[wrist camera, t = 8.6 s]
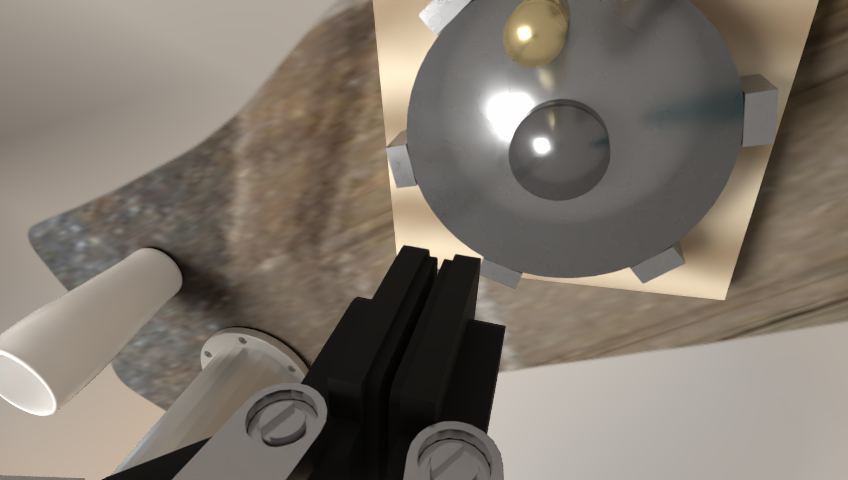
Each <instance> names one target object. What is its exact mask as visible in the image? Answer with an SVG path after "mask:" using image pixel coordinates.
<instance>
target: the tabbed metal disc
mask: <svg viewBox="0 0 848 480" xmlns="http://www.w3.org/2000/svg"><path fill="white" fill-rule="evenodd" d="M419 17H420V18H421V19H422V20H423V21H424V23H425V24H426V25H427V26H428V27H429V29H430V30H431V31H432V32H433V33H434V35H435V36H436V35H438V34H439V33H440V34H439V36H438V37H437V39H436V40H435V42H434V43H433V45H432V46H431V48H430V49H429V51H428V52H427V54H426V56H425V58H424V60H423V62H422V64H421V66H420V68H419V70H418V73H417V76H416V79H415V82H414V85H413V88H412V91H411V96H410V101H409V106H408V113H407V129H406V131H401V132H400V133H399V134H398V135H397V136H396V137H395V138H394V139H393V140H392V141H391V143H390V144H389V145H388V146H387V147H386V148H385V149H386V152H387V156H388V159H389V163H390V166H391V170H392V173H393V177H394V180H395V184H396V187H397V188H403V187H411V186H417V185H418V186H419V188H420V190H421V192H422V194H423V196H424V199H425V200H426V202H427V203H428V205H429V206H430V208H431V210H432V211H433V213H434V214H435V215H436V217H437V218H438V219H439V220H440V221H441V223H442V224H443V225H444V226H445V227H446V228H447V229H448V230H449V231H450V232H451V233H452V234H453V235H454V236H455V237H456V238H457V239H458V240H460V241H461V242H462V243H463V244H465V245H466V246H467V247H469V248H470V249H471V250H473V251H475V252H476V253H478V254H480V255H481V256H482V260H481V267H480V275H481V276H483V277H486V278H488V279H491V280H493V281H496V282H499V283H501V284H504V285H506V286H509V287H511V288H514V289H515V288H516V286H517V284H518V282H519V280H520V278H521V276H522V274H523V273H527V274H532V275H536V276H543V277H552V278H581V277H591V276H598V275H603V274H608V273H612V272H616V271H619V270H622V269H625V268H628V267H630V269H631V270H632V271H633V273H634V274H635V275H636V276H637V277H638V279H639V280H640V281H641V282H642V283H643V284H644V283H646V282H648V281H650V280H652V279H654V278H656V277H658V276H661V275H663V274H665V273H667V272H669V271H671V270H673V269H675V268H677V267H679V266H681V265H683V264H685V263H686V262H685V259H684V256H683V252H682V249H681V245H680V242H679V240H680V239H681V238H682V237H684V236H685V235H686V234H687V233H688V232H689V231H690V230H691V229H692V228H693V227H694V226H696V225H697V224H698V223H699V222H700V221H701V220H702V218H703V217H704V216H705V215H706V213H707V212H708V211H709V210H710V209H711V207H712V206H713V205H714V204H715V202H716V200H717V199H718V197H719V196H720V194H721V192H722V191H723V189H724V188H725V186H726V184H727V182H728V179H729V177H730V175H731V173H732V171H733V168H734V166H735V163H736V160H737V156H738V153H739V149H740V146H742V147H749V146H757V145H766V144H774V138H775V126H776V114H777V102H778V90H779V89H778V88H777V87H775V86H774V85H773V84H772V83H771V82H769V81H768V80H767V79H766V78H765V77H763V76H762V75H761V74H755V75H748V76H742V77H739V74H738V71H737V68H736V66H735V63H734V60H733V57H732V55H731V53H730V51H729V49H728V47H727V45H726V44H725V42H724V40H723V38H722V37H721V35H720V33H719V32H718V30H717V29H716V28H715V27H714V26H713V24H712V23H711V22H710V21H709V19H708V18H707V17H706V16H705V14H704V13H703V12H702V11H700V10H699V9H698V8H697V7H696V6H695V5H694V4H692V3H691V2H690V1H689V0H433V1H432V2H431V3H430V4H429V5H428V6H427V7H426V8H425V9H424V10H423V11H422V12H421V13H420V14H419Z"/></svg>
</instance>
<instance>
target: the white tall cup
mask: <svg viewBox="0 0 848 480" xmlns="http://www.w3.org/2000/svg"><path fill="white" fill-rule="evenodd" d="M181 286H182V274H181V271H180V269H179V267H178V266H177V264H176V263H175V262H174V261H173V260H172V259H171V258H170V257H169V256H168V255H166V254H165V253H163V252H161V251H159V250H157V249H153V248H142V249H139V250H137V251H135V252H134V253H132V254H131V255H129V256H128V257H127V258H125V259H124V260H122V261H120V262H119V263H117V264H115V265H114V266H112V267H110V268H109V269H107V270H105V271H104V272H102V273H100V274H98V275H97V276H95V277H93V278H92V279H90V280H88V281H86V282H85V283H83V284H81V285H80V286H78V287H76V288H74V289H73V290H71V291H69V292H67V293H66V294H64V295H62V296H61V297H59V298H57V299H55V300H54V301H52V302H50V303H48V304H47V305H45V306H43V307H42V308H40V309H38V310H36V311H35V312H33V313H32V314H30V315H28V316H27V317H25V318H24V319H22V320H21V321H19V322H18V323H17V324H15V325H13V326H12V327H11V328H9V329H8V330H6V331H5V332H4V333H2V334H1V335H0V396H1V397H3V398H4V399H5V400H7V401H8V402H10V403H11V404H13V405H14V406H16V407H18V408H20V409H22V410H24V411H26V412H29V413H32V414H35V415H42V416H46V415H51V414H53V413H55V412H56V411H57V410H58V409H60V408H61V407H62V406H63V405H65V404H66V403H67V402H68V401H69V400H70V399H72V398H73V397H74V396H75V395H76V394H78V393H79V392H80V391H81V390H82V389H83V388H84V387H86V386H87V385H88V384H89V383H90V382H91V381H92V380H93V379H94V378H95V377H96V376H97V375H98V374H99V373H100V372H101V371H102V370H103V369H104V368H105V367H106V366H107V365H108V364H109V363H110V362H111V361H112V360H113V359H114V358H115V357H116V355H117V354H118V353H119V352H120V351H121V350H122V349H123V348H124V347H125V346H126V345H127V344H128V343H129V341H130V340H131V339H132V338H133V337H134V336H135V335H136V334H137V333H138V332H139V331H140V330H141V329H142V328H143V326H144V325H145V324H146V323H147V322H148V321H149V320H150V319H151V318H152V317H153V316H154V315H155V314H156V313H157V312H158V311H159V310H160V309H161V308H162V306H163V305H164V304H165V303H166V302H167V301H169V300H170V299H171V298H172V297H173V296H174V295H175V294H176V293H177V292H178V291H179V290H180V288H181Z"/></svg>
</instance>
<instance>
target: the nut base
mask: <svg viewBox="0 0 848 480" xmlns="http://www.w3.org/2000/svg"><path fill="white" fill-rule="evenodd" d="M432 1H433V0H373V7H374V17H375V28H376V39H377V49H378V60H379V70H380V81H381V92H382V102H383V113H384V123H385V134H386V145H387V146H388V145H389V144H390V143H391V141H392V140H393V139H394V138H395V137H396V136H397V135H398V134H399V133H400V132H401V131H406V129H407V113H408V106H409V101H410V96H411V91H412V88H413V85H414V82H415V79H416V76H417V73H418V70H419V68H420V66H421V64H422V62H423V60H424V58H425V56H426V54H427V52H428V51H429V49H430V48H431V46H432V45H433V43H434V42H435V40H436V39H437V37H438V36H439V34H440V33H439V34H438V35H436V36H435V35H434V33H433V32H432V31H431V30H430V29H429V27H428V26H427V25H426V24H425V23H424V21H423V20H422V19H421V18H420V17H419V14H420V13H421V12H422V11H423V10H424V9H425V8H426V7H427V6H428V5H429V4H430V3H431V2H432ZM689 1H690V2H691V3H692V4H694V5H695V6H696V7H697V8H698V9H699V10H700V11H702V12H703V13H704V14H705V16H706V17H707V18H708V19H709V21H710V22H711V23H712V24H713V26H714V27H715V28H716V29H717V30H718V32H719V33H720V35H721V37H722V38H723V40H724V42H725V44H726V45H727V47H728V49H729V51H730V53H731V55H732V57H733V60H734V63H735V66H736V68H737V71H738V74H739V77H742V76H748V75H755V74H761V75H762V76H763V77H765V78H766V79H767V80H768V81H769V82H771V83H772V84H773V85H774V86H775V87H777V88H778V89H779V90H778V102H777V114H776V126H775V138H776V135H777V132H778V128H779V125H780V122H781V119H782V116H783V112H784V109H785V106H786V103H787V100H788V97H789V93H790V90H791V87H792V84H793V81H794V78H795V74H796V71H797V68H798V65H799V62H800V59H801V55H802V52H803V49H804V46H805V43H806V40H807V36H808V33H809V30H810V27H811V24H812V20H813V17H814V14H815V11H816V8H817V5H818V1H819V0H689ZM775 138H774V141H775ZM772 147H773V144H766V145H757V146H749V147H742V146H740V149H739V153H738V156H737V160H736V163H735V166H734V168H733V171H732V173H731V175H730V177H729V179H728V182H727V184H726V186H725V188H724V189H723V191H722V192H721V194H720V196H719V197H718V199H717V200H716V202H715V204H714V205H713V206H712V207H711V209H710V210H709V211H708V212H707V213H706V215H705V216H704V217H703V218H702V220H701V221H700V222H699V223H698V224H697V225H696V226H694V227H693V228H692V229H691V230H690V231H689V232H688V233H687V234H686V235H685V236H684V237H682V238H681V239H680V240H679V242H680V245H681V249H682V252H683V256H684V259H685V262H686V263H685V264H683V265H681V266H679V267H677V268H675V269H673V270H671V271H669V272H667V273H665V274H663V275H661V276H658V277H656V278H654V279H652V280H650V281H648V282H646V283H644V284H643V283H642V282H641V281H640V280H639V279H638V277H637V276H636V275H635V274H634V273H633V271H632V270H631V269H630V267H628V268H625V269H622V270H619V271H616V272H612V273H608V274H603V275H598V276H591V277H581V278H552V277H543V276H536V275H532V274H527V273H523V274H522V276H521V278H528V279H537V280H546V281H555V282H564V283H573V284H582V285H591V286H600V287H609V288H618V289H627V290H636V291H645V292H654V293H664V294H673V295H682V296H691V297H700V298H709V299H718V300H725V296H726V293H727V290H728V287H729V284H730V281H731V277H732V274H733V271H734V268H735V265H736V262H737V258H738V255H739V252H740V249H741V246H742V243H743V239H744V236H745V233H746V230H747V227H748V224H749V220H750V217H751V214H752V211H753V208H754V204H755V201H756V198H757V195H758V192H759V189H760V185H761V182H762V179H763V176H764V173H765V170H766V166H767V163H768V160H769V157H770V154H771V151H772ZM388 166H389V176H390V187H391V198H392V208H393V219H394V230H395V240H396V251H397V255H398V253H399V251H400V250H401V248H402V247H403V245H407V246H413V247H419V248H425V249H429V251H430V256H432V257H437V258H438V268H437V269H440V268H441V265H442V263H443V261H444V259H449V260H453V258H454V256H455V254H459V255H465V256H471V257H477V258H481V260H482V256H481V255H480V254H478V253H476V252H475V251H473V250H471V249H470V248H469V247H467V246H466V245H465V244H463V243H462V242H461V241H460V240H458V239H457V238H456V237H455V236H454V235H453V234H452V233H451V232H450V231H449V230H448V229H447V228H446V227H445V226H444V225H443V224H442V223H441V221H440V220H439V219H438V218H437V217H436V215H435V214H434V213H433V211H432V210H431V208H430V206H429V205H428V203H427V202H426V200H425V199H424V196H423V194H422V192H421V190H420V188H419V186H418V185H417V186H411V187H403V188H397V187H396V184H395V180H394V177H393V173H392V170H391V166H390V163H389V159H388Z"/></svg>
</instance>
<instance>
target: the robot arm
mask: <svg viewBox="0 0 848 480" xmlns="http://www.w3.org/2000/svg"><path fill="white" fill-rule="evenodd" d="M480 267H481V258H477V257H471V256H465V255H459V254H455V256H454V258H453V260H449V259H444V261H443V263H442V265H441V268H440V270H439V272H438V275H437V268H438V258H437V257H432V256H430V251H429V249H425V248H419V247H413V246H407V245H403V247H402V248H401V250H400V251H399V253H398V255H397V257H396V258H395V260H394V262H393V264H392V265H391V267H390V269H389V271H388V272H387V274H386V276H385V277H384V279H383V281H382V283H381V284H380V286H379V288H378V290H377V291H376V293H375V295H374V297H373V298H372V299H366V298H361V297H357V298H355V299H354V300H353V301H352V302H351V304H350V306H349V307H348V309H347V310H346V312H345V314H344V315H343V317H342V318H341V320H340V321H339V323H338V325H337V326H336V328H335V329H334V331H333V333H332V334H331V336H330V337H329V339H328V341H327V342H326V344H325V345H324V347H323V349H322V350H321V352H320V353H319V355H318V357H317V358H316V360H315V361H314V363H313V365H312V366H311V368H310V369H309V370H308V368H307V367H306V365H305V364H304V362H303V361H302V360H301V359H300V358H299V357H298V356H297V355H296V353H294V352H293V351H292V350H291V349H290V348H288V347H287V346H286V345H284V344H283V343H281V342H280V341H278V340H277V339H275V338H273V337H271V336H269V335H267V334H265V333H262V332H259V331H256V330H252V329H247V328H235V327H233V328H226V329H223V330H220V331H218V332H216V333H215V334H214V335H212V336H211V337H210V338H209V340H208V341H207V342H206V343H205V344H204V346H203V348H202V351H201V364H202V369H203V370H202V371H201V372H200V374H199V375H198V376H197V377H196V378H195V379H194V380H193V382H192V383H191V384H190V385H189V386H188V387H187V388H186V390H185V391H184V392H183V393H182V394H181V395H180V396H179V398H178V399H177V400H176V401H175V402H174V403H173V404H172V406H171V407H170V408H169V409H168V410H167V411H166V412H165V414H164V415H163V416H162V417H161V418H160V420H159V421H158V422H157V423H156V424H155V425H154V426H153V427H152V428H151V430H150V431H149V432H148V433H147V434H146V435H145V437H144V438H143V439H142V440H141V441H140V442H139V443H138V444H137V446H136V447H135V448H134V449H133V450H132V451H131V452H130V454H129V455H128V456H127V457H126V458H125V459H124V461H123V462H122V463H121V464H120V465H119V466H118V467H117V469H116V470H115V471H114V472H113V473H112V474H111V475H110V476H108V477H106V478H104V479H102V480H504V475H503V463H502V458H501V453H500V451H499V450H498V448H497V446H496V445H495V443H494V441H493V440H492V439H491V438H490V437H489V436H488V435H487V432H488V426H489V420H490V415H491V409H492V404H493V398H494V393H495V388H496V382H497V376H498V370H499V364H500V359H501V352H502V346H503V340H504V334H505V327H506V326H503V325H498V324H493V323H488V322H483V321H478V320H474V317H475V309H476V301H477V292H478V284H479V275H480ZM0 480H85V479H84V478H58V477H30V476H28V477H27V476H2V475H0Z"/></svg>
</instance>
